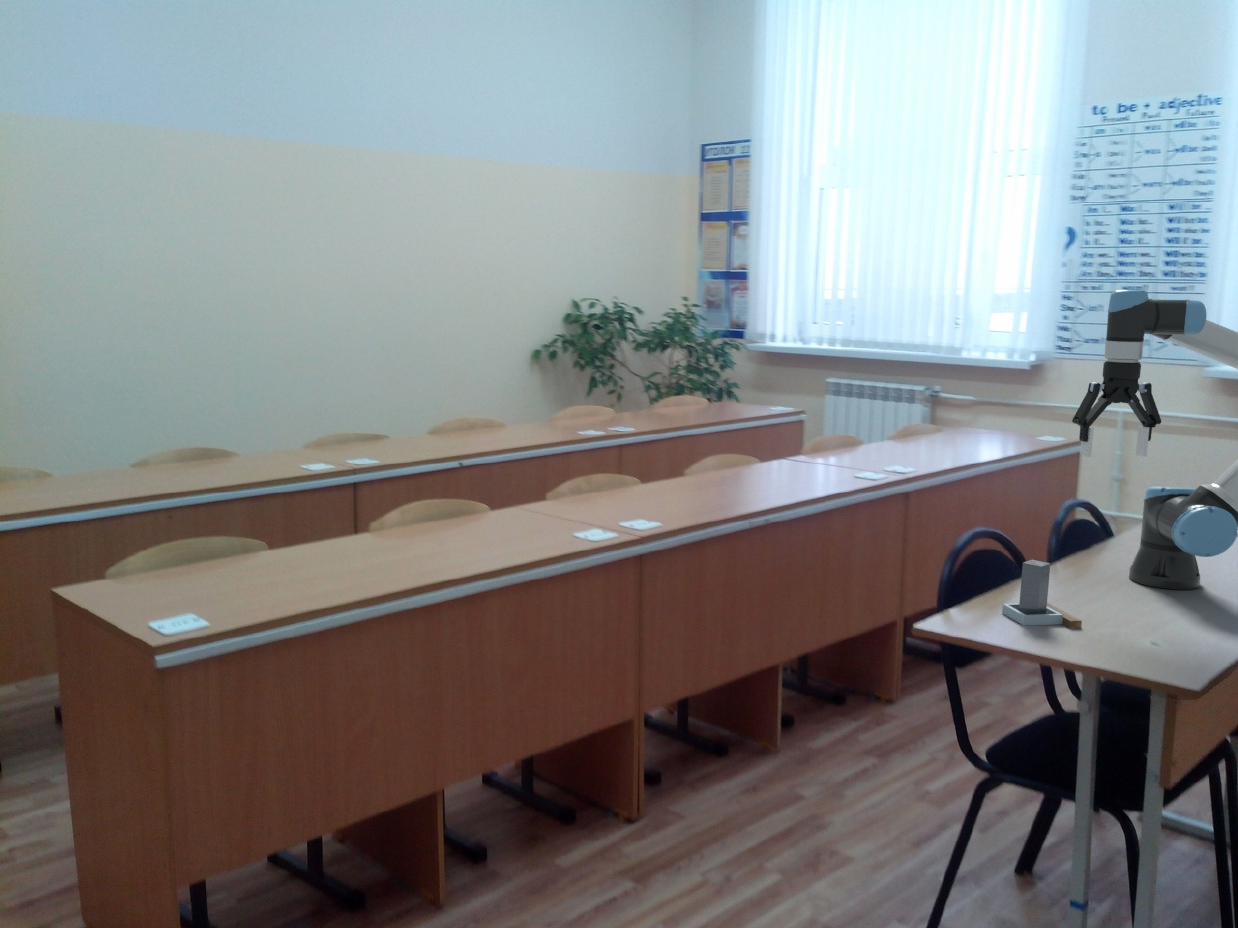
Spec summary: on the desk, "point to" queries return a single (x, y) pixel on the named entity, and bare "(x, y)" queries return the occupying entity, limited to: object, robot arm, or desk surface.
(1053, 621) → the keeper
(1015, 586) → the desk surface
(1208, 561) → the desk surface
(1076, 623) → the sill strip
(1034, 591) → the bar
